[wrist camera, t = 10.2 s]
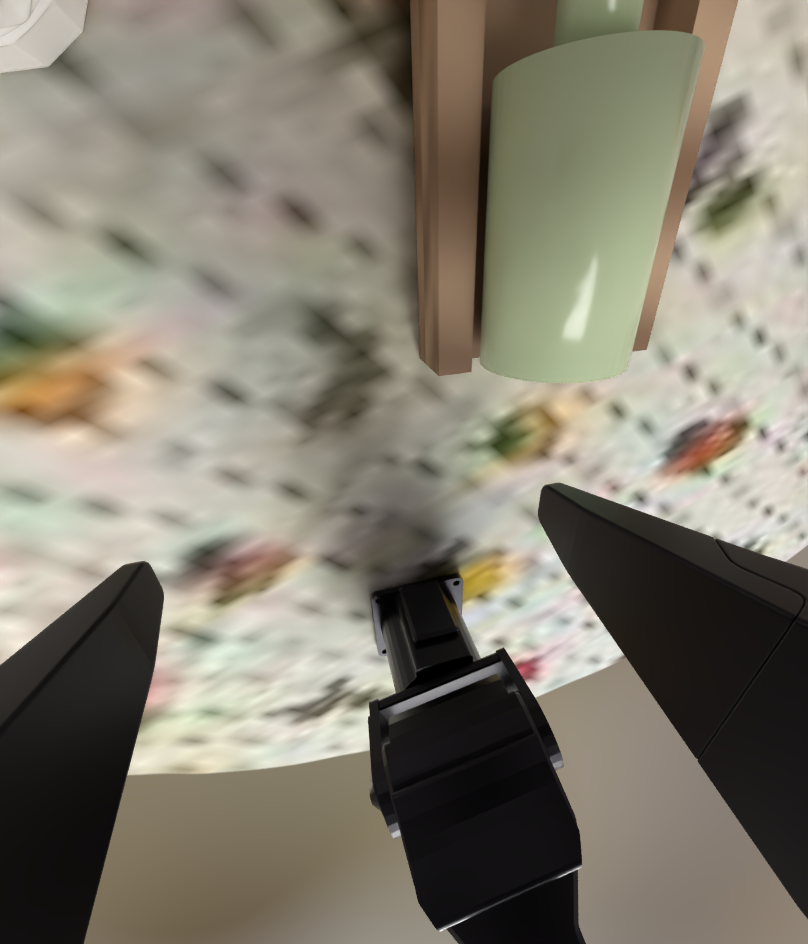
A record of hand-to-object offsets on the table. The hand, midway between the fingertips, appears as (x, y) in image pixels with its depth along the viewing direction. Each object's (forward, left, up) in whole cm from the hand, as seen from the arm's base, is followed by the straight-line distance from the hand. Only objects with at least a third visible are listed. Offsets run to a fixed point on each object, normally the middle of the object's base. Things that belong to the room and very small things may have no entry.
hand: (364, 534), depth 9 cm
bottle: (+8, -10, -11) cm, 17 cm away
